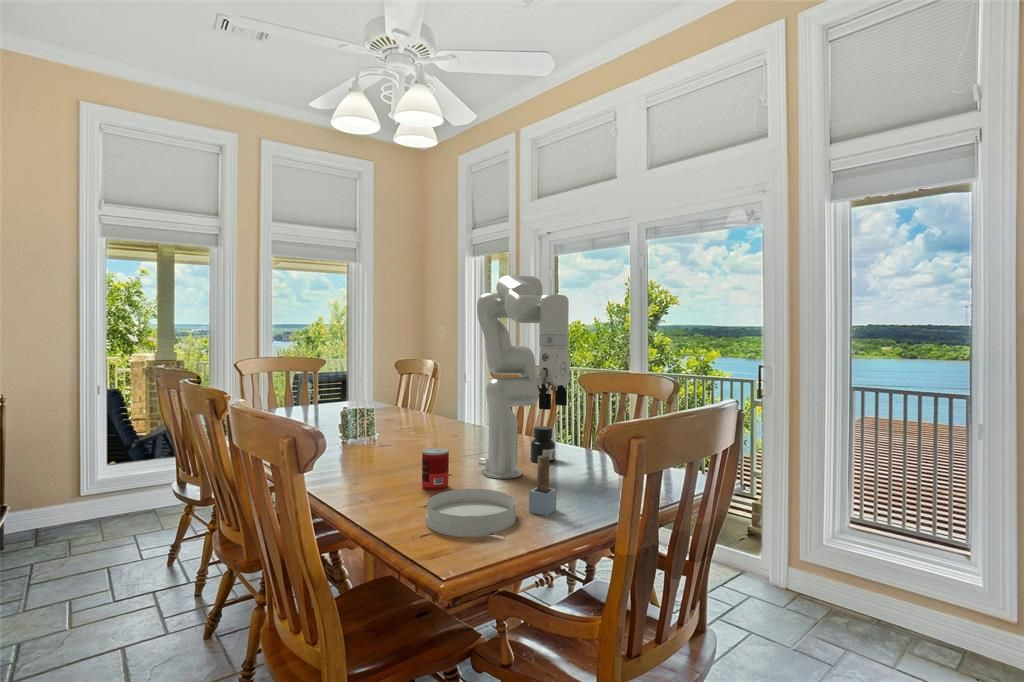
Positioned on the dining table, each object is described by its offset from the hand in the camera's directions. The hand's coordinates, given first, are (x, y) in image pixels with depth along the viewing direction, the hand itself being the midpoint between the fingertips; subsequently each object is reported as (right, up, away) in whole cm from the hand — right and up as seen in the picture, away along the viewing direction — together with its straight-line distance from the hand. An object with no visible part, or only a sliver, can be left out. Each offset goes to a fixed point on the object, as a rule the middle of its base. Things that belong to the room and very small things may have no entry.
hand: (553, 407), depth 144 cm
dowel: (-3, -26, -3) cm, 27 cm away
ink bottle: (0, -26, +55) cm, 61 cm away
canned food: (-34, -26, +20) cm, 47 cm away
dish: (-21, -27, -8) cm, 35 cm away
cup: (-3, -27, -3) cm, 27 cm away
